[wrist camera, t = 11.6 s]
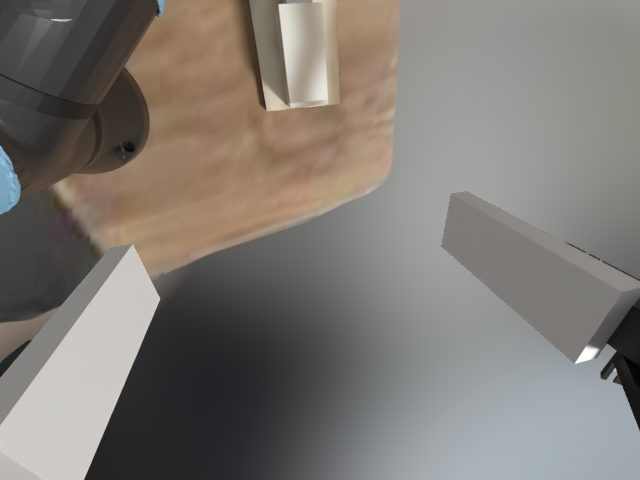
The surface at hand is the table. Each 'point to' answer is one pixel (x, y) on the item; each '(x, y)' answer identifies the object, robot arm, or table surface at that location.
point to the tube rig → (297, 52)
